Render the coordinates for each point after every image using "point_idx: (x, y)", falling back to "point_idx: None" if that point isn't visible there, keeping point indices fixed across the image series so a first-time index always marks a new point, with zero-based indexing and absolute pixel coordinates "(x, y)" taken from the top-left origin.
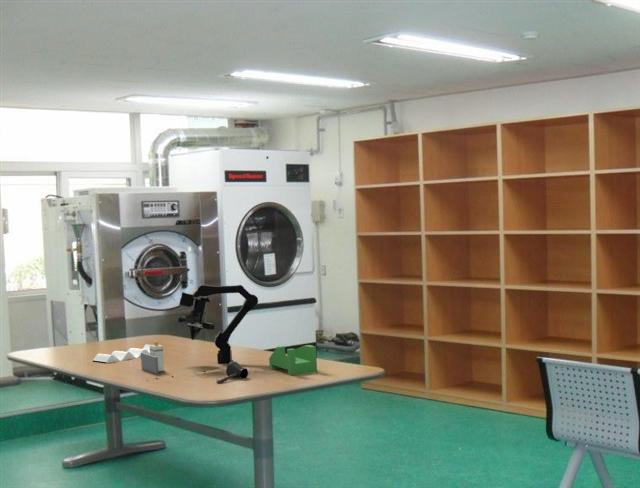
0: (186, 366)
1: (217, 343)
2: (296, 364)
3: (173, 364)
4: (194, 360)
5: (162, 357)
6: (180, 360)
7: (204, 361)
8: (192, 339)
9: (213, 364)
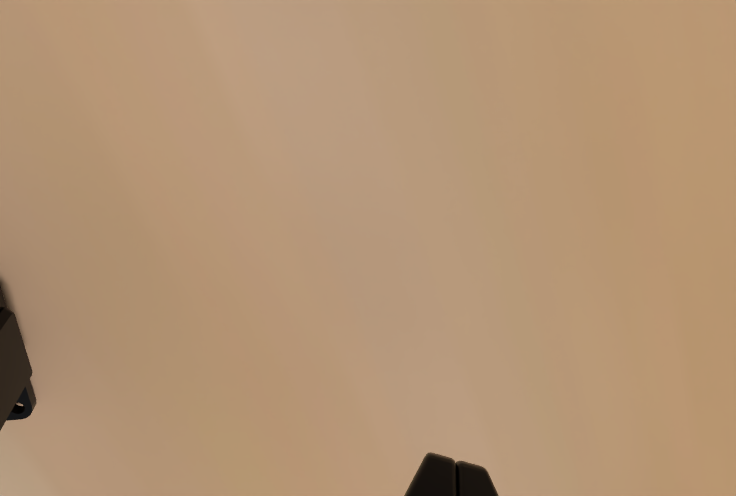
0: (459, 52)
1: None
2: None
3: (705, 249)
4: None
5: None
6: (651, 492)
7: (306, 423)
8: (443, 460)
9: (32, 190)
